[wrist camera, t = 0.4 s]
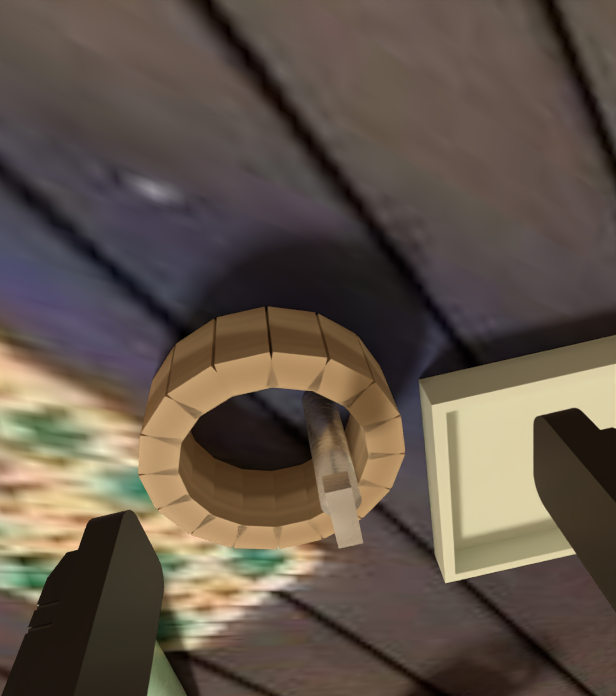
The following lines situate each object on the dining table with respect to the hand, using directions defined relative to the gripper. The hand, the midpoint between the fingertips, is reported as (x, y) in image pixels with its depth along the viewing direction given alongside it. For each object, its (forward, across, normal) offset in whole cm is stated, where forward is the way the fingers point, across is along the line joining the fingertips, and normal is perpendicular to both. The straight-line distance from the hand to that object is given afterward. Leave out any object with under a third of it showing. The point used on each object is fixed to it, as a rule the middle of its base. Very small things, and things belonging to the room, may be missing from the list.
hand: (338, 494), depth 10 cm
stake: (+19, 0, +10) cm, 22 cm away
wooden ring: (+19, +3, +10) cm, 22 cm away
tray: (+20, -15, +20) cm, 31 cm away
